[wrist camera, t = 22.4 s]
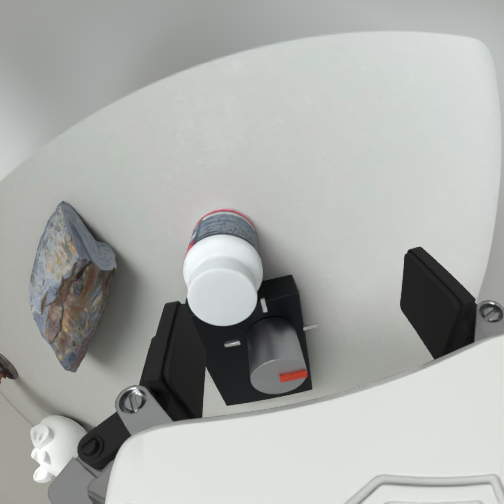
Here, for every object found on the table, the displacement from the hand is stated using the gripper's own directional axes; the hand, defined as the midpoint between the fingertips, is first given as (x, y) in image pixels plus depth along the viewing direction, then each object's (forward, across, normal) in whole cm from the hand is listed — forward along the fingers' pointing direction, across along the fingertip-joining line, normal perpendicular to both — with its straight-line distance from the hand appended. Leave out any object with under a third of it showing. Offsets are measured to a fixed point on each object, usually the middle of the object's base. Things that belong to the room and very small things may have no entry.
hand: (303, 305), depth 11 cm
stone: (+13, +21, +3) cm, 25 cm away
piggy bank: (+12, +42, +29) cm, 52 cm away
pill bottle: (+13, +4, +2) cm, 14 cm away
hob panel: (+13, +4, +14) cm, 19 cm away
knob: (+10, +2, +11) cm, 15 cm away
